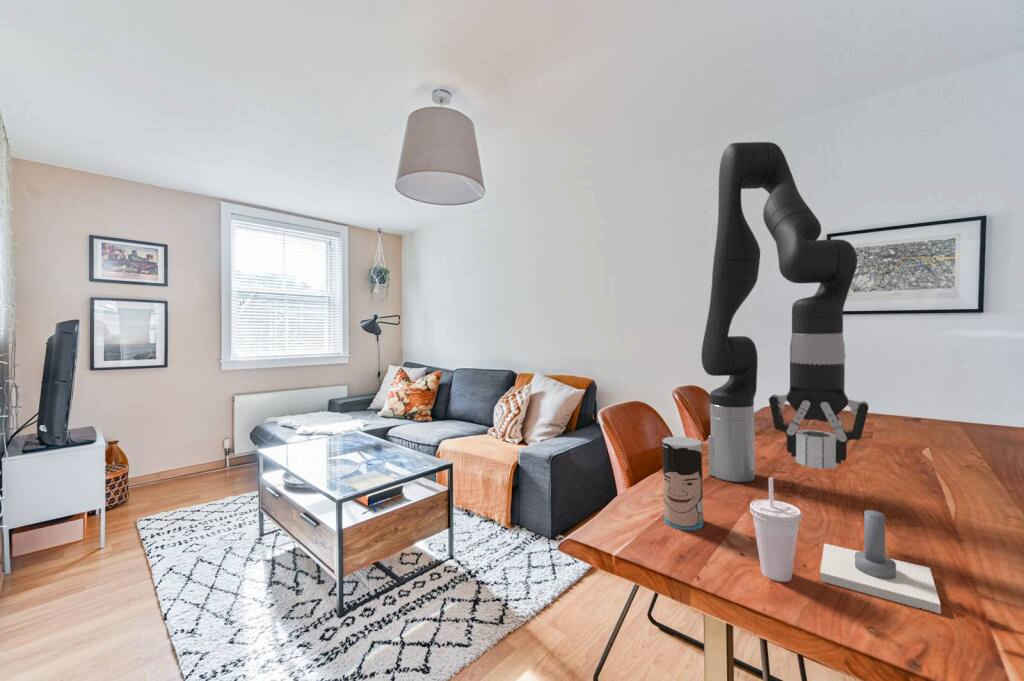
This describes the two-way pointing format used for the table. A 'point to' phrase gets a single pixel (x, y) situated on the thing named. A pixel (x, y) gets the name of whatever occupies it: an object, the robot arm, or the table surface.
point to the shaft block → (879, 570)
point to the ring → (816, 449)
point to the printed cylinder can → (682, 482)
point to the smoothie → (776, 535)
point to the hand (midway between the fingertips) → (816, 458)
